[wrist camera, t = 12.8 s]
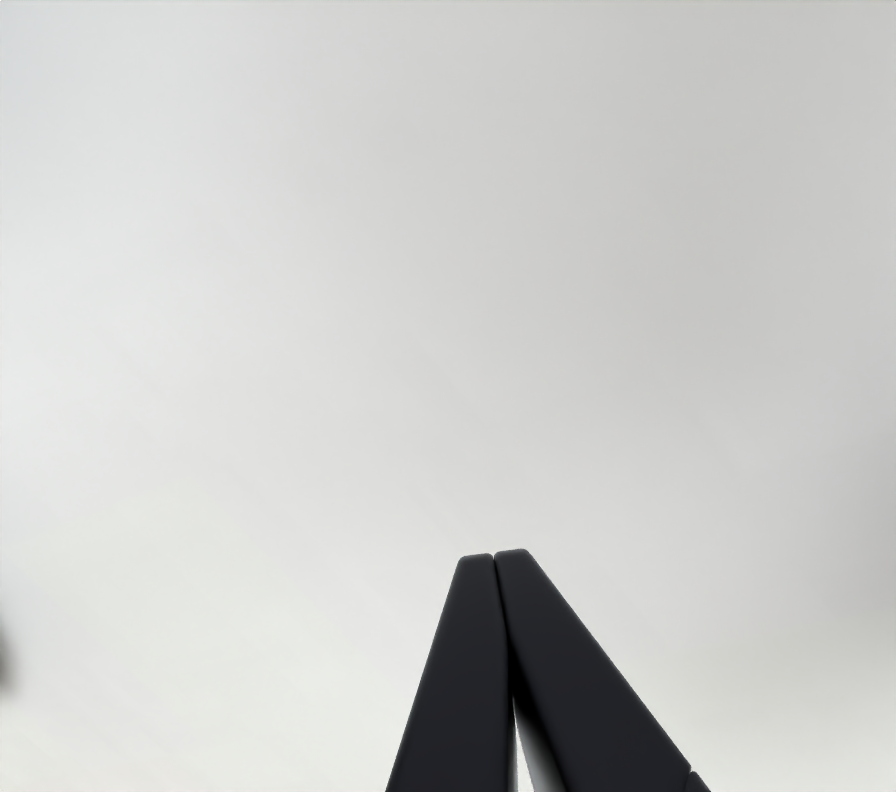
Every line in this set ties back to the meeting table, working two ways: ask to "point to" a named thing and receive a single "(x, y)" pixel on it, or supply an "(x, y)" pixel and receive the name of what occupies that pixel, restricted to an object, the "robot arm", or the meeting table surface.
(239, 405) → the meeting table surface
